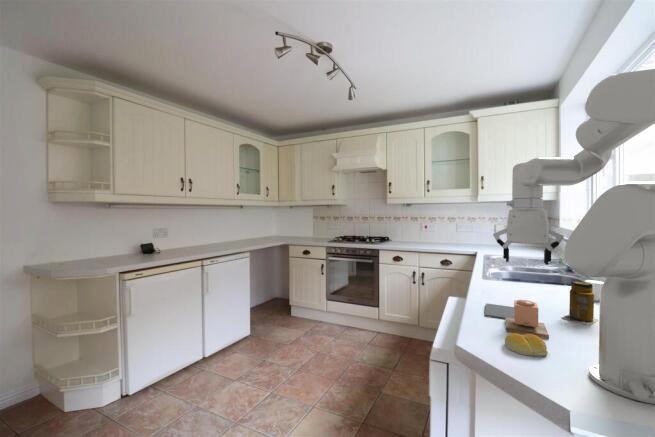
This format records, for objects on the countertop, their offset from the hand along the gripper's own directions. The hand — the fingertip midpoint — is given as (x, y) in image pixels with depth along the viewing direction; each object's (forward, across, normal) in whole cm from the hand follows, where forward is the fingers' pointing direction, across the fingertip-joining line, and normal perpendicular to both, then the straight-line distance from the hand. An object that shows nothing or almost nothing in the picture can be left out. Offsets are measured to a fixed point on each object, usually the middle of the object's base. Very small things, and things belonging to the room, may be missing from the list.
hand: (526, 262), depth 88 cm
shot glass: (+20, +27, +52) cm, 62 cm away
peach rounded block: (+18, 0, 0) cm, 18 cm away
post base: (+20, 0, 0) cm, 20 cm away
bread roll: (+20, -1, -15) cm, 26 cm away
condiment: (+20, +16, +19) cm, 32 cm away
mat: (+20, -4, +14) cm, 25 cm away
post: (+19, 0, 0) cm, 19 cm away
